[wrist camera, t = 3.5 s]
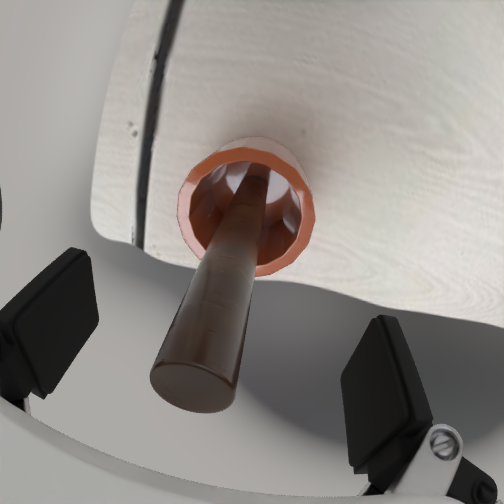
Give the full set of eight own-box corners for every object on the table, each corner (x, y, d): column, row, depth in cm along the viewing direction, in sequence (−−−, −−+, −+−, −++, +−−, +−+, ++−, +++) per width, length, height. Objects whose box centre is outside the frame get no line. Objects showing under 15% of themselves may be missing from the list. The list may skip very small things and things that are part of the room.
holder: (199, 222, 25) (173, 263, 19) (212, 128, 21) (185, 137, 15) (292, 241, 25) (295, 288, 19) (315, 148, 21) (330, 165, 15)
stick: (236, 199, 23) (151, 402, 7) (241, 172, 22) (145, 352, 6) (264, 205, 23) (228, 421, 7) (270, 178, 22) (241, 374, 6)
